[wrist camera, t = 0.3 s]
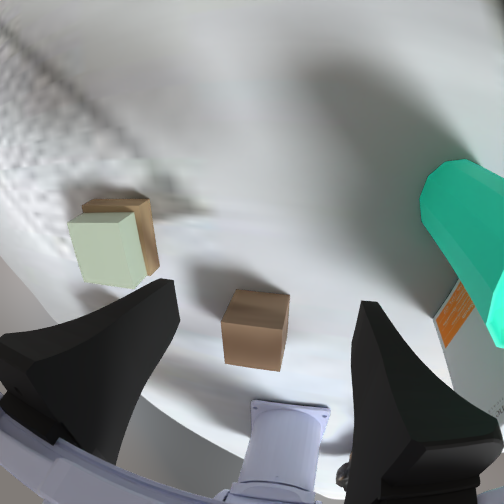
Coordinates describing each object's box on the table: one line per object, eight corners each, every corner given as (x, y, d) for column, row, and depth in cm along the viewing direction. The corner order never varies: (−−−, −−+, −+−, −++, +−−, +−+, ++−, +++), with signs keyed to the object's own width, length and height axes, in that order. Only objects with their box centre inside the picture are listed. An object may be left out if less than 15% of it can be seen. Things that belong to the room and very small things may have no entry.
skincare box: (468, 254, 18) (546, 380, 8) (505, 272, 18) (578, 386, 7) (429, 320, 21) (464, 455, 10) (466, 332, 21) (507, 454, 10)
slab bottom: (162, 263, 24) (150, 275, 23) (109, 257, 25) (96, 268, 24) (152, 197, 22) (138, 205, 20) (96, 197, 23) (81, 205, 21)
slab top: (147, 274, 23) (134, 289, 21) (98, 269, 24) (84, 282, 22) (134, 212, 20) (118, 223, 19) (83, 213, 21) (66, 222, 20)
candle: (412, 242, 19) (474, 382, 8) (424, 151, 16) (540, 226, 6) (484, 249, 17) (568, 369, 7) (500, 166, 15) (625, 244, 4)
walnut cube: (287, 335, 24) (279, 371, 21) (238, 329, 25) (225, 363, 22) (289, 294, 23) (282, 329, 19) (236, 288, 23) (220, 321, 20)
